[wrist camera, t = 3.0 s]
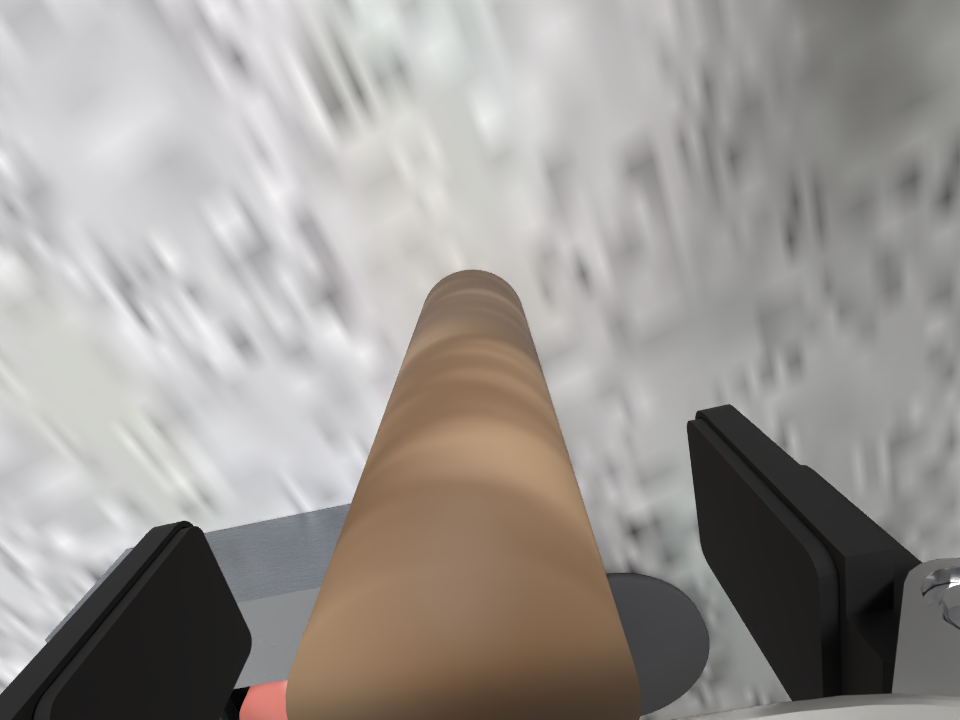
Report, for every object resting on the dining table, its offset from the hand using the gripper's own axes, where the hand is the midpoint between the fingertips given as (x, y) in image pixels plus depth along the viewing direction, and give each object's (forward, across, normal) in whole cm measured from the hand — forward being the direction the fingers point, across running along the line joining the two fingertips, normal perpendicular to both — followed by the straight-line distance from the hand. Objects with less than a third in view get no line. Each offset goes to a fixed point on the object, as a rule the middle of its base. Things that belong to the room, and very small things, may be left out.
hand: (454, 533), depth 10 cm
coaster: (+12, -4, +17) cm, 21 cm away
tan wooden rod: (+12, -1, -1) cm, 12 cm away
